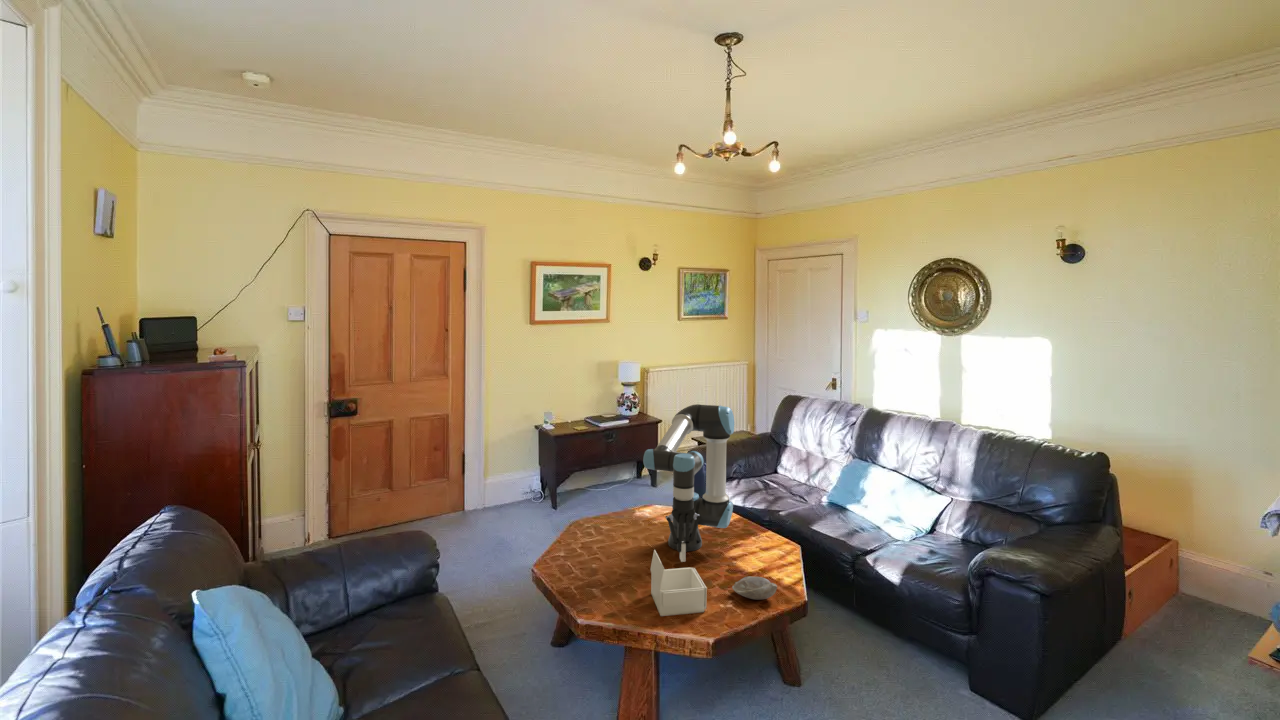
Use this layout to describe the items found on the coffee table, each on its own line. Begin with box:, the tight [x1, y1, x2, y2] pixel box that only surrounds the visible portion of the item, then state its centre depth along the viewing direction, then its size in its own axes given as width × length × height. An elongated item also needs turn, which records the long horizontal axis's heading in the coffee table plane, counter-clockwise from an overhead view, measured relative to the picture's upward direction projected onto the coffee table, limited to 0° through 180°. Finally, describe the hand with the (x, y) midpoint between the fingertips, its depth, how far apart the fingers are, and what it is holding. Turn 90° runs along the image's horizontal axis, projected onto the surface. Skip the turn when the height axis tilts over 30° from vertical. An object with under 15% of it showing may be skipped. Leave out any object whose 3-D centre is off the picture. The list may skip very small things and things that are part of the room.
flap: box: [650, 549, 665, 590], centre depth 216 cm, size 8×16×1 cm
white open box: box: [650, 567, 708, 617], centre depth 218 cm, size 17×18×9 cm
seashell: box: [731, 575, 778, 600], centre depth 222 cm, size 9×12×15 cm
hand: (682, 559), depth 217 cm, fingers closed
